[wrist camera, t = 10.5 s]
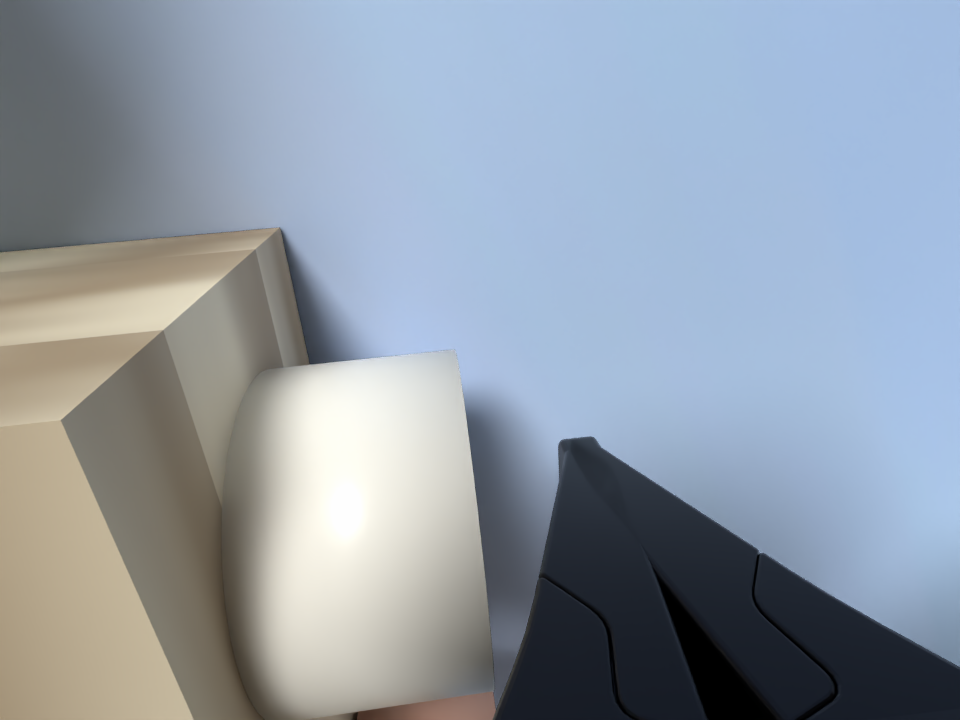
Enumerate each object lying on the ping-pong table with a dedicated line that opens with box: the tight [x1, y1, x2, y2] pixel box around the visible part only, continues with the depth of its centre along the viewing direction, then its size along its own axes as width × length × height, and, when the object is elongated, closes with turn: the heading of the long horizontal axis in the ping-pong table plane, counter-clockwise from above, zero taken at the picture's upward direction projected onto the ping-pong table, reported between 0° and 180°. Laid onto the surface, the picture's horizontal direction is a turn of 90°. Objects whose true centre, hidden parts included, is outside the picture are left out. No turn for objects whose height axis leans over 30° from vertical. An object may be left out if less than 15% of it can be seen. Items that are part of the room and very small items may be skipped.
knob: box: [221, 349, 495, 720], centre depth 7 cm, size 7×4×4 cm, turn 94°
